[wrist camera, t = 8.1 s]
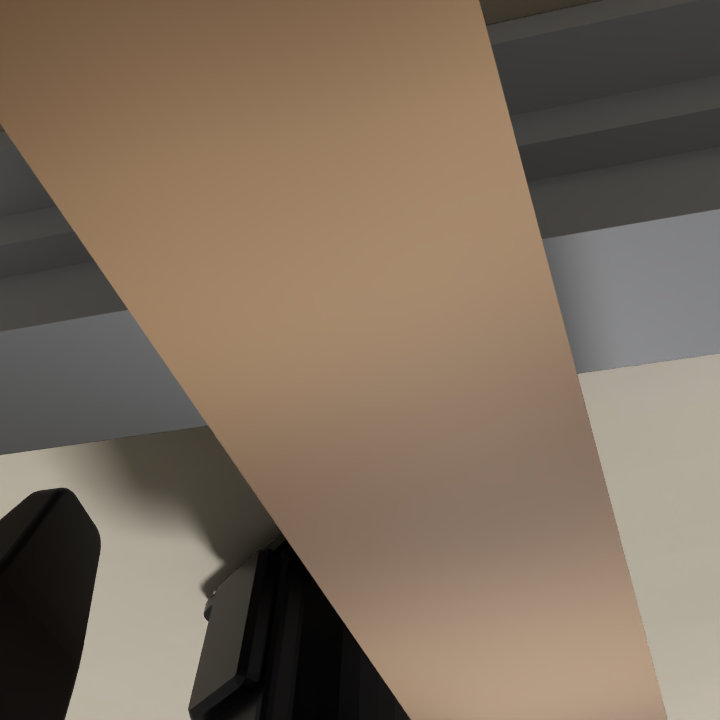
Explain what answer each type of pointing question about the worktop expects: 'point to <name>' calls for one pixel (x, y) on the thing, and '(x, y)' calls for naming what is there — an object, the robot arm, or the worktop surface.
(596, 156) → the ridge
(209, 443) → the worktop surface
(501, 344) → the brown wooden bar
